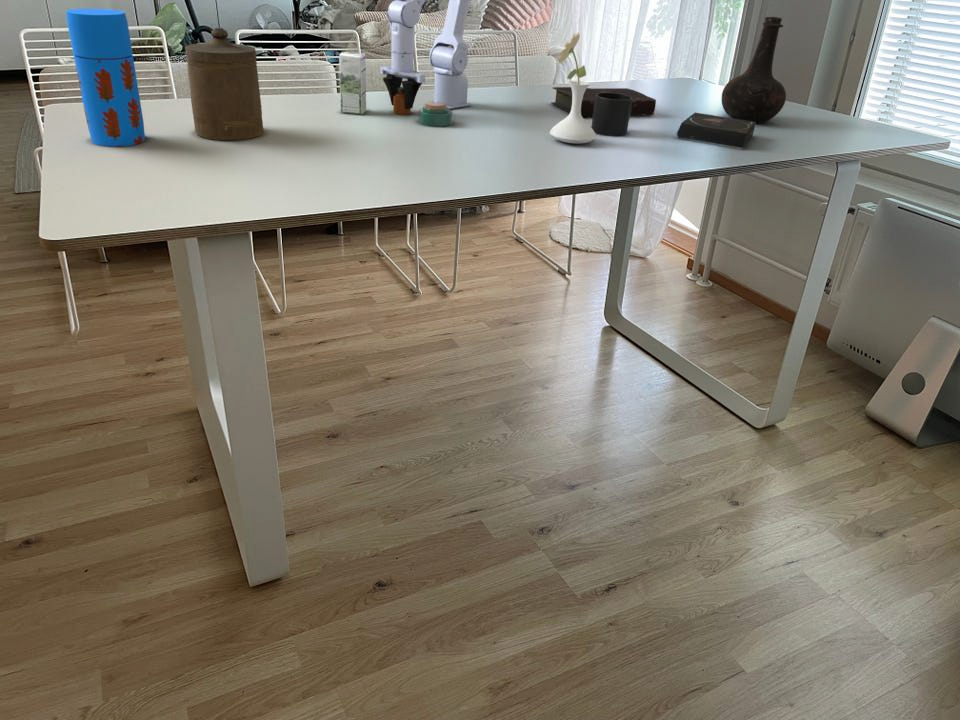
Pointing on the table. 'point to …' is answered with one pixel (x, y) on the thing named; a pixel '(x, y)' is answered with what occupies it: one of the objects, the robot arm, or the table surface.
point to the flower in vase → (574, 105)
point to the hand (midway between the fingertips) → (401, 106)
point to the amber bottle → (400, 103)
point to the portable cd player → (716, 130)
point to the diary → (639, 100)
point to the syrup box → (352, 82)
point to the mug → (611, 114)
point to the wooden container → (224, 89)
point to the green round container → (435, 114)
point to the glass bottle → (757, 82)
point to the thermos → (106, 76)
